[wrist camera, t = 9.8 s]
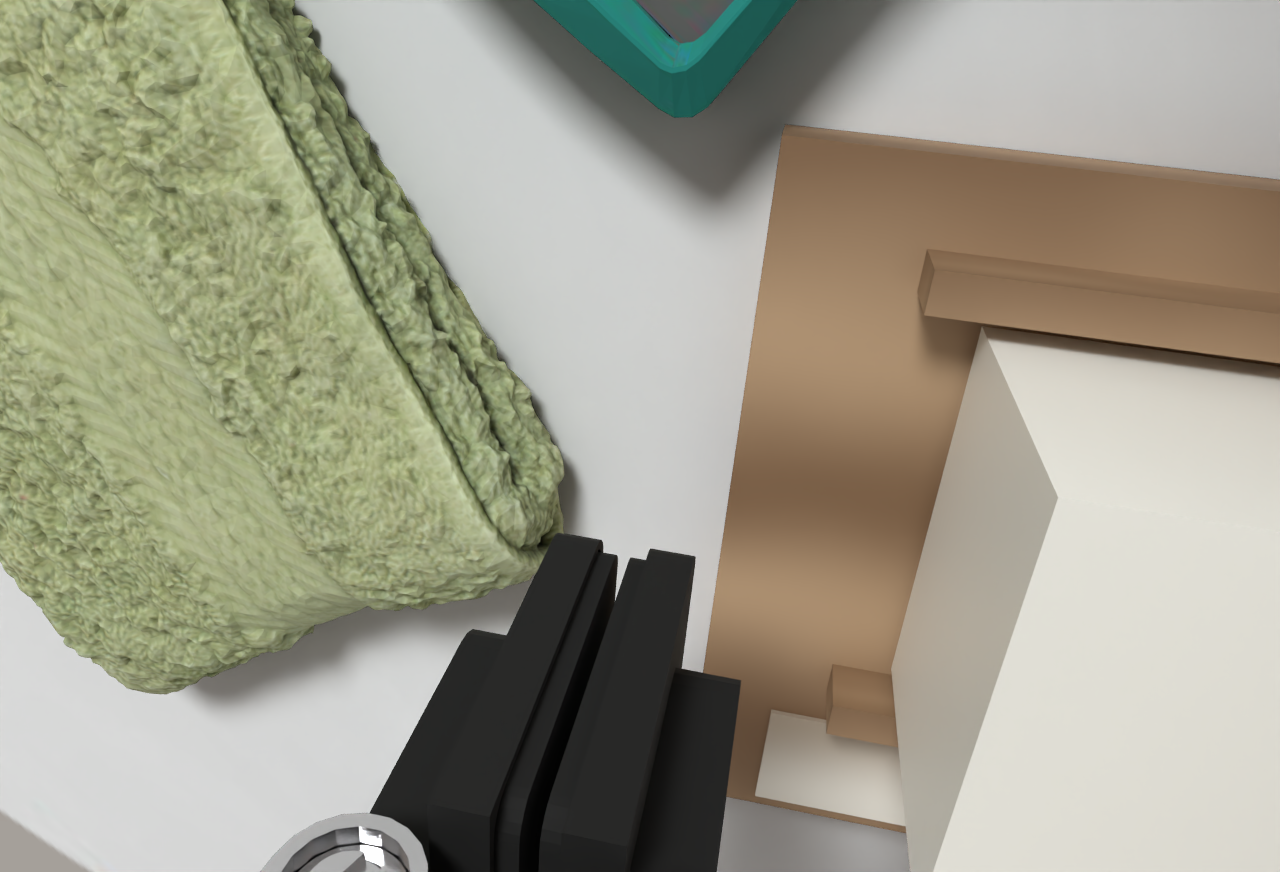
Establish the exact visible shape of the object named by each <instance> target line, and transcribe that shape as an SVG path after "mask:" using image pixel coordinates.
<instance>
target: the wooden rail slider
mask: <svg viewBox="0 0 1280 872" xmlns="http://www.w3.org/2000/svg"><path fill="white" fill-rule="evenodd" d="M982 326H983V327H991V328H998V329H1005V330H1013V331H1020V332H1027V333H1035V334H1042V335H1050V336H1057V337H1064V338H1072V339H1079V340H1086V341H1094V342H1101V343H1109V344H1116V345H1123V346H1131V347H1138V348H1145V349H1153V350H1160V351H1167V352H1175V353H1182V354H1190V355H1197V356H1204V357H1212V358H1219V359H1226V360H1234V361H1241V362H1249V363H1256V364H1263V365H1271V366H1278V367H1280V180H1277V179H1268V178H1259V177H1250V176H1241V175H1232V174H1223V173H1215V172H1206V171H1197V170H1188V169H1179V168H1170V167H1161V166H1152V165H1143V164H1134V163H1126V162H1117V161H1108V160H1099V159H1090V158H1081V157H1072V156H1063V155H1054V154H1045V153H1036V152H1028V151H1019V150H1010V149H1001V148H992V147H983V146H974V145H965V144H956V143H947V142H939V141H930V140H921V139H912V138H903V137H894V136H885V135H876V134H867V133H858V132H850V131H841V130H832V129H823V128H814V127H805V126H796V125H787V124H785V126H784V130H783V133H782V138H781V145H780V151H779V158H778V165H777V172H776V179H775V186H774V192H773V199H772V206H771V213H770V220H769V226H768V233H767V240H766V247H765V254H764V261H763V267H762V274H761V281H760V288H759V295H758V301H757V308H756V315H755V322H754V329H753V336H752V342H751V349H750V356H749V363H748V370H747V376H746V383H745V390H744V397H743V404H742V411H741V417H740V424H739V431H738V438H737V445H736V451H735V458H734V465H733V472H732V479H731V486H730V492H729V499H728V506H727V513H726V520H725V526H724V533H723V540H722V547H721V554H720V561H719V567H718V574H717V581H716V588H715V595H714V601H713V608H712V615H711V622H710V629H709V636H708V642H707V649H706V656H705V663H704V670H703V673H706V674H711V675H716V676H722V677H727V678H732V679H737V680H741V687H740V695H739V703H738V711H737V718H736V726H735V734H734V741H733V749H732V757H731V764H730V772H729V780H728V787H727V795H726V797H731V798H736V799H741V800H746V801H750V802H755V803H760V804H765V805H770V806H775V807H780V808H785V809H790V810H795V811H800V812H805V813H809V814H814V815H819V816H824V817H829V818H834V819H839V820H844V821H849V822H854V823H859V824H863V825H868V826H873V827H878V828H883V829H888V830H893V831H898V832H903V833H906V824H905V814H904V803H903V792H902V781H901V770H900V759H899V748H898V738H897V727H896V716H895V705H894V694H893V683H892V672H891V667H892V663H893V660H894V656H895V652H896V648H897V644H898V641H899V637H900V633H901V629H902V626H903V622H904V618H905V614H906V611H907V607H908V603H909V599H910V595H911V592H912V588H913V584H914V580H915V577H916V573H917V569H918V565H919V562H920V558H921V554H922V550H923V546H924V543H925V539H926V535H927V531H928V528H929V524H930V520H931V516H932V513H933V509H934V505H935V501H936V497H937V494H938V490H939V486H940V482H941V479H942V475H943V471H944V467H945V464H946V460H947V456H948V452H949V448H950V445H951V441H952V437H953V433H954V430H955V426H956V422H957V418H958V415H959V411H960V407H961V403H962V399H963V396H964V392H965V388H966V384H967V381H968V377H969V373H970V369H971V366H972V362H973V358H974V354H975V350H976V347H977V343H978V339H979V335H980V332H981V328H982Z"/></svg>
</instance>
